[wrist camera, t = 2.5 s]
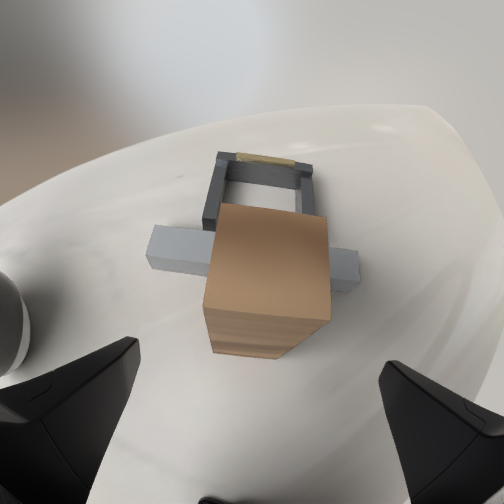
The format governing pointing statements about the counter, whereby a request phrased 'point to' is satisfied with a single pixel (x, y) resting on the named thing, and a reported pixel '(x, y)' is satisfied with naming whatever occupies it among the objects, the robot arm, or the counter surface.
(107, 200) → the counter surface
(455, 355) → the counter surface
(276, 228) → the block
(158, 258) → the door edge
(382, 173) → the counter surface
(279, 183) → the keeper
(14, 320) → the dark grey egg shape
